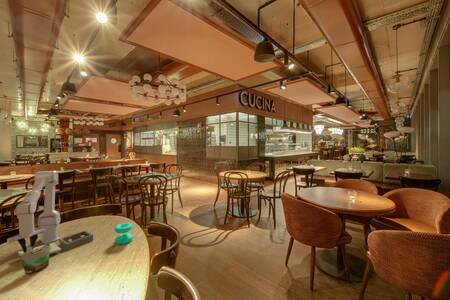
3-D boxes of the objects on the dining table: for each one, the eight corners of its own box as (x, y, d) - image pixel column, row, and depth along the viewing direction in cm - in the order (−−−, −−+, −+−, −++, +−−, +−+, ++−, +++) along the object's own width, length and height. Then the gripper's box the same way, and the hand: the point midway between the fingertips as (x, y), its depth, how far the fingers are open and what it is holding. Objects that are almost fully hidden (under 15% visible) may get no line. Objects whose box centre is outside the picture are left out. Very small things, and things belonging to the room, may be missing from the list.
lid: (17, 255, 109) (18, 244, 109) (52, 245, 122) (53, 236, 122) (24, 262, 103) (25, 251, 103) (60, 252, 115) (61, 241, 115)
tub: (59, 244, 124) (59, 239, 124) (85, 235, 136) (85, 230, 136) (66, 250, 118) (66, 244, 118) (93, 240, 130) (93, 234, 130)
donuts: (110, 227, 125) (123, 221, 134) (111, 243, 125) (124, 236, 135) (123, 230, 122) (135, 223, 131) (123, 246, 122) (136, 238, 132)
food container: (31, 278, 95) (30, 257, 94) (21, 276, 96) (20, 255, 95) (58, 262, 107) (57, 243, 106) (48, 260, 108) (47, 242, 107)
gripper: (9, 232, 99) (10, 259, 100) (47, 222, 111) (48, 246, 112) (5, 229, 103) (7, 255, 104) (42, 219, 115) (43, 243, 116)
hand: (28, 250), depth 108 cm, fingers closed on lid, 2 cm apart
